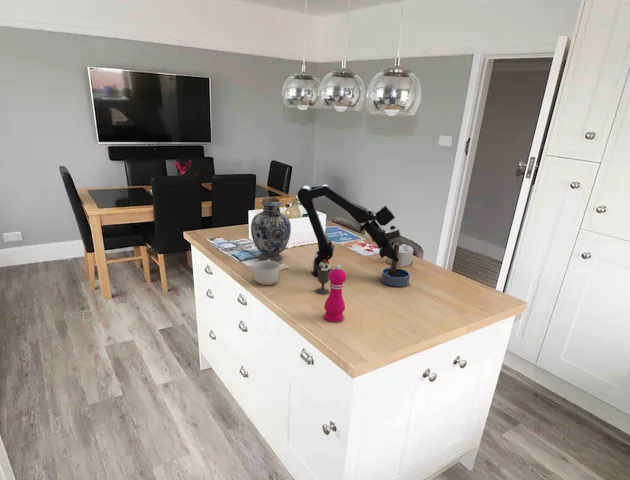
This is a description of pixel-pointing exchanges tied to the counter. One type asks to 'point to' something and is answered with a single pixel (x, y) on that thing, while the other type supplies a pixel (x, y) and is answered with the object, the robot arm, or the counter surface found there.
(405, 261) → the lumpy-topped squat cylinder
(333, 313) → the pepper mill
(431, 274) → the counter surface
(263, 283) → the teacup
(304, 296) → the counter surface
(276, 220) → the decorative vase
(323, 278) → the sundae
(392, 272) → the stirring stick
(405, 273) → the bowl
